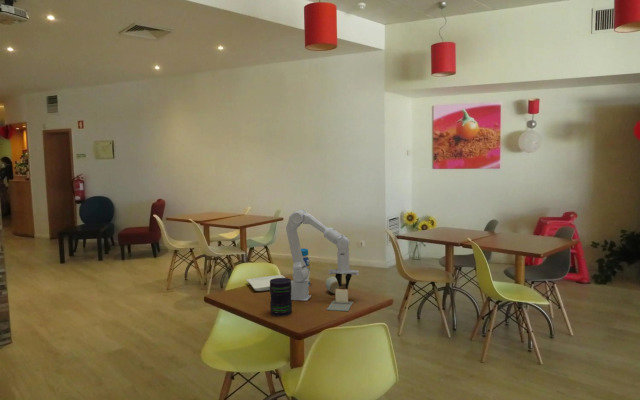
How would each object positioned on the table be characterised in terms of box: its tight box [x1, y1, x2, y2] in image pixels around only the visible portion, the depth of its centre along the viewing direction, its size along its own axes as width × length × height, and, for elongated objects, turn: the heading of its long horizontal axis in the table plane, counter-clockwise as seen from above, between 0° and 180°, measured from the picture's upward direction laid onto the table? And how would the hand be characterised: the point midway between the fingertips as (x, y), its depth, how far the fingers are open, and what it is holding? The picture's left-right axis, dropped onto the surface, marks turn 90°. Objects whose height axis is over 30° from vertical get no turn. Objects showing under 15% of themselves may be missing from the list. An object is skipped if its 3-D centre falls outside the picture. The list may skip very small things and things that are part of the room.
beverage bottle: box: [301, 247, 311, 287], centre depth 259 cm, size 8×8×20 cm
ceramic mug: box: [324, 276, 340, 295], centre depth 244 cm, size 11×8×8 cm
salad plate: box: [245, 274, 286, 292], centre depth 259 cm, size 21×21×3 cm
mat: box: [326, 299, 354, 312], centre depth 222 cm, size 10×14×1 cm
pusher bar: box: [340, 283, 346, 289], centre depth 230 cm, size 2×7×5 cm, turn 166°
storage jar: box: [269, 277, 293, 317], centre depth 213 cm, size 10×10×15 cm
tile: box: [335, 288, 349, 302], centre depth 225 cm, size 6×1×6 cm, turn 76°
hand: (343, 289), depth 230 cm, fingers closed on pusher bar, 2 cm apart
